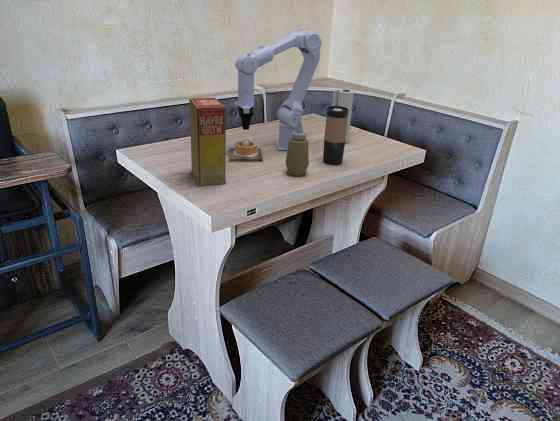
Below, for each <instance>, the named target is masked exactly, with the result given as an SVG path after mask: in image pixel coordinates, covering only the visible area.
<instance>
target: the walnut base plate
mask: <svg viewBox="0 0 560 421" xmlns="http://www.w3.org/2000/svg"><path fill="white" fill-rule="evenodd" d="M228 150H229V162H234V163H236V162H238V163H239V162H242V163H244V162H245V163H246V162H254V163H255V162H256V163H257V162H259V163H260V162H261V163H263V161H264V160H263V159H264V158H263V153H262V148H260V147H257V153H256V154H254V155H239V154H237V153H235V147H229V148H228Z"/></svg>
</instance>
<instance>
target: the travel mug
mask: <svg viewBox="0 0 560 421" xmlns="http://www.w3.org/2000/svg"><path fill="white" fill-rule="evenodd" d="M347 120H348V108H346V107H342V106H332V105H331V106H328V107H327V108H326V118H325V127H324V139H323V151H322V152H323V155H322V157H323V158H322V162H323V163H324V164H326V165H328V166H340V165H341V164H342V163H343V160H344V152H345V146H346V144H345V139H346V129H347Z"/></svg>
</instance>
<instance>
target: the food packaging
mask: <svg viewBox="0 0 560 421" xmlns="http://www.w3.org/2000/svg"><path fill="white" fill-rule="evenodd" d="M188 101H189V102H188V103H189V127H190V128H189V129H190V130H189V133H190V153H191V155H190V156H191V157H190V158H191V159H190V160H191V173H192V176H193V177H194V179H195V181H196V184H197V185H198V187H206V186H215V185H224V184H227V181H226V180H227V178H226V177H227V176H226V147H227V146H226V143H227V142H226V141H227V140H226V136H227V135H226V127H227V126H226V125H227V118H226V117H227V113H226V112H227V110H226V109H227V108H226V106H225V105H224V104H222V103H221V101H220V100H218V99H217V97H191V98H189V99H188Z"/></svg>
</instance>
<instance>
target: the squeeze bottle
mask: <svg viewBox="0 0 560 421" xmlns="http://www.w3.org/2000/svg"><path fill="white" fill-rule="evenodd" d="M302 126H303V123H302V121H301V122H298V124H297V127H296V131H294V132H292V138H291V139H289V143H288V149H287V150H286V151H287V152H286V157H285V166H286V170H287V172H288V174H289V175H291V176H294V177H295V176H296V177H298V176H299V177H300V176H303V175H305V174H306V172H307V170H308V167H309V165H310V161H309V160H310V158H309V155H310V154H309V140H308V139H307V138H306V137H307V133H306V132H305V131H304V128H303V129H302Z"/></svg>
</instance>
